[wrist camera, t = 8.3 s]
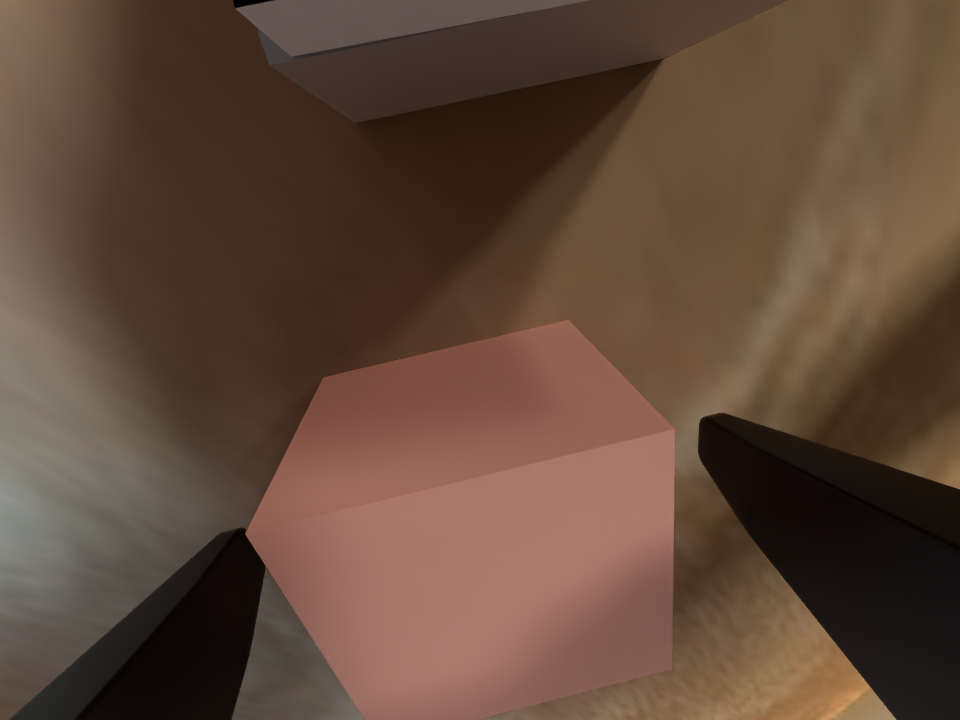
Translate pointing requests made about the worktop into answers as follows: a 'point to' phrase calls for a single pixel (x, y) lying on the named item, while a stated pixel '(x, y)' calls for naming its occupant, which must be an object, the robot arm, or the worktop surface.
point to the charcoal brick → (504, 53)
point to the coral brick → (478, 527)
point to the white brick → (370, 18)
